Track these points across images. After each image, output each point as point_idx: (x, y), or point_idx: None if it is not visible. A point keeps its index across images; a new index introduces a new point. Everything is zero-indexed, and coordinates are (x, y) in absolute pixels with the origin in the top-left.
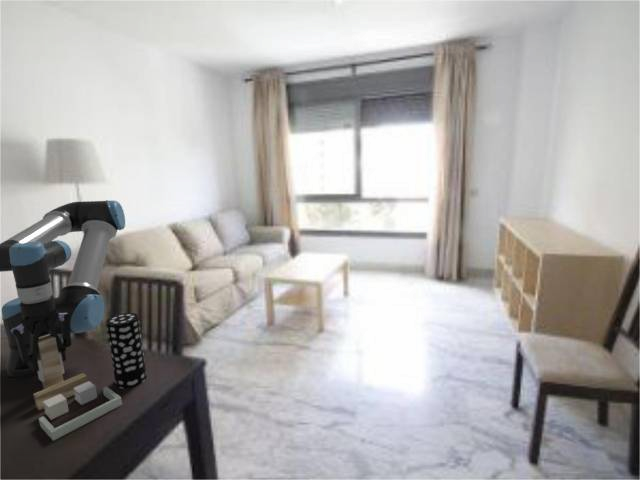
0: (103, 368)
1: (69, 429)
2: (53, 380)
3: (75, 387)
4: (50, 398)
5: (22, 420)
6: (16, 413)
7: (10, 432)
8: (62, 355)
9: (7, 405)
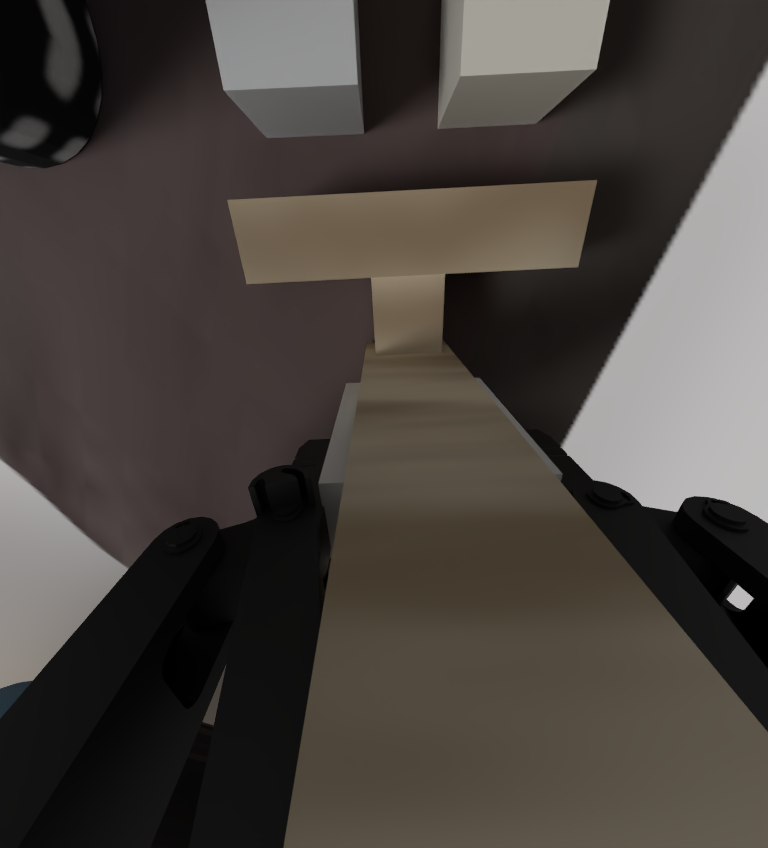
0: (171, 393)
1: None
2: (419, 361)
3: (342, 69)
4: (542, 62)
5: (623, 190)
6: (595, 304)
7: (726, 96)
8: (314, 472)
9: (573, 413)
